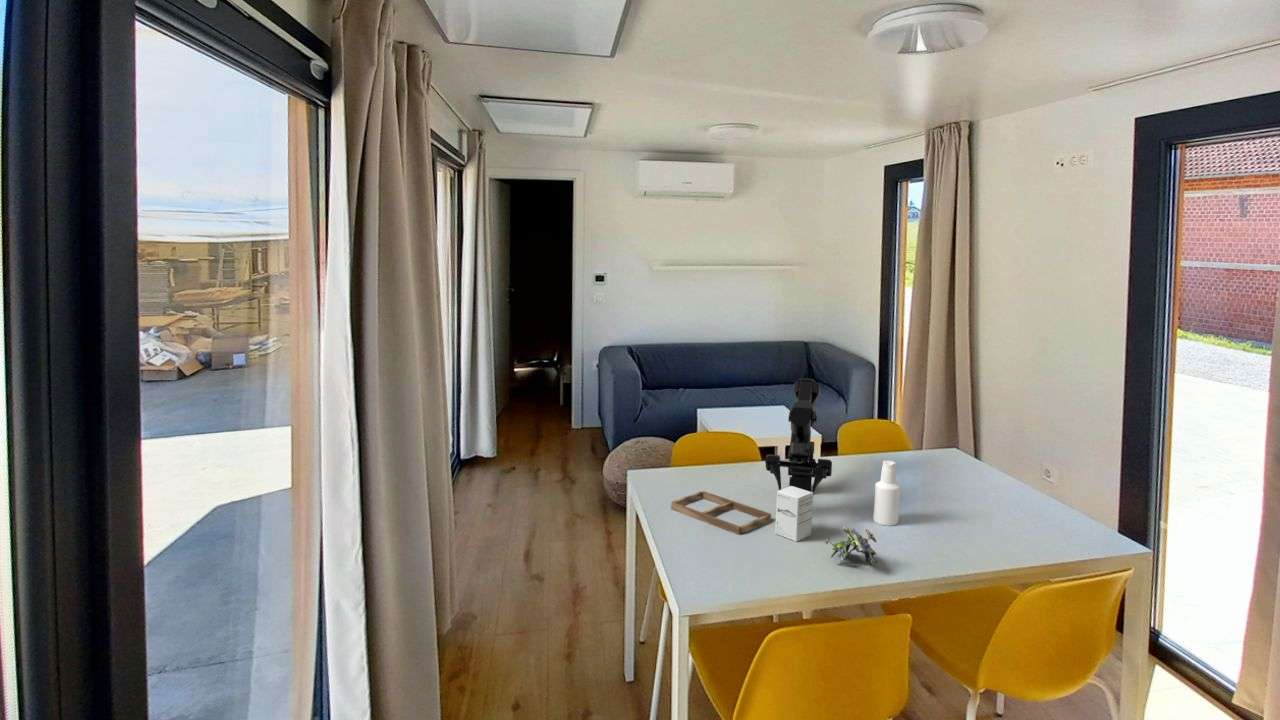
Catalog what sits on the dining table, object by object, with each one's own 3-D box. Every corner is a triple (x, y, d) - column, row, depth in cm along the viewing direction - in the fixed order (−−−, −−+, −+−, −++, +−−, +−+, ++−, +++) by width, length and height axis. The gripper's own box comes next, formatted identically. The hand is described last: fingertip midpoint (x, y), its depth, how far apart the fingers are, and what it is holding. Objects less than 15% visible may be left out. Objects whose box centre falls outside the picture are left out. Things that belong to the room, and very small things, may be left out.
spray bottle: (897, 518, 202) (901, 460, 199) (898, 527, 195) (902, 466, 193) (873, 515, 204) (876, 457, 201) (872, 524, 198) (876, 464, 195)
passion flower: (866, 584, 174) (891, 559, 166) (828, 581, 171) (851, 555, 163) (853, 545, 182) (875, 519, 174) (816, 541, 179) (838, 515, 171)
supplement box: (774, 534, 191) (775, 490, 189) (790, 527, 196) (791, 484, 194) (796, 542, 185) (798, 498, 183) (812, 535, 190) (814, 491, 188)
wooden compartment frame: (702, 496, 219) (702, 490, 219) (772, 520, 200) (772, 514, 200) (669, 508, 209) (669, 502, 209) (740, 535, 190) (740, 528, 189)
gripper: (767, 427, 200) (761, 476, 191) (833, 432, 195) (830, 482, 186) (768, 446, 209) (763, 493, 200) (832, 451, 203) (830, 500, 195)
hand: (796, 492), depth 195 cm, fingers open, 9 cm apart
